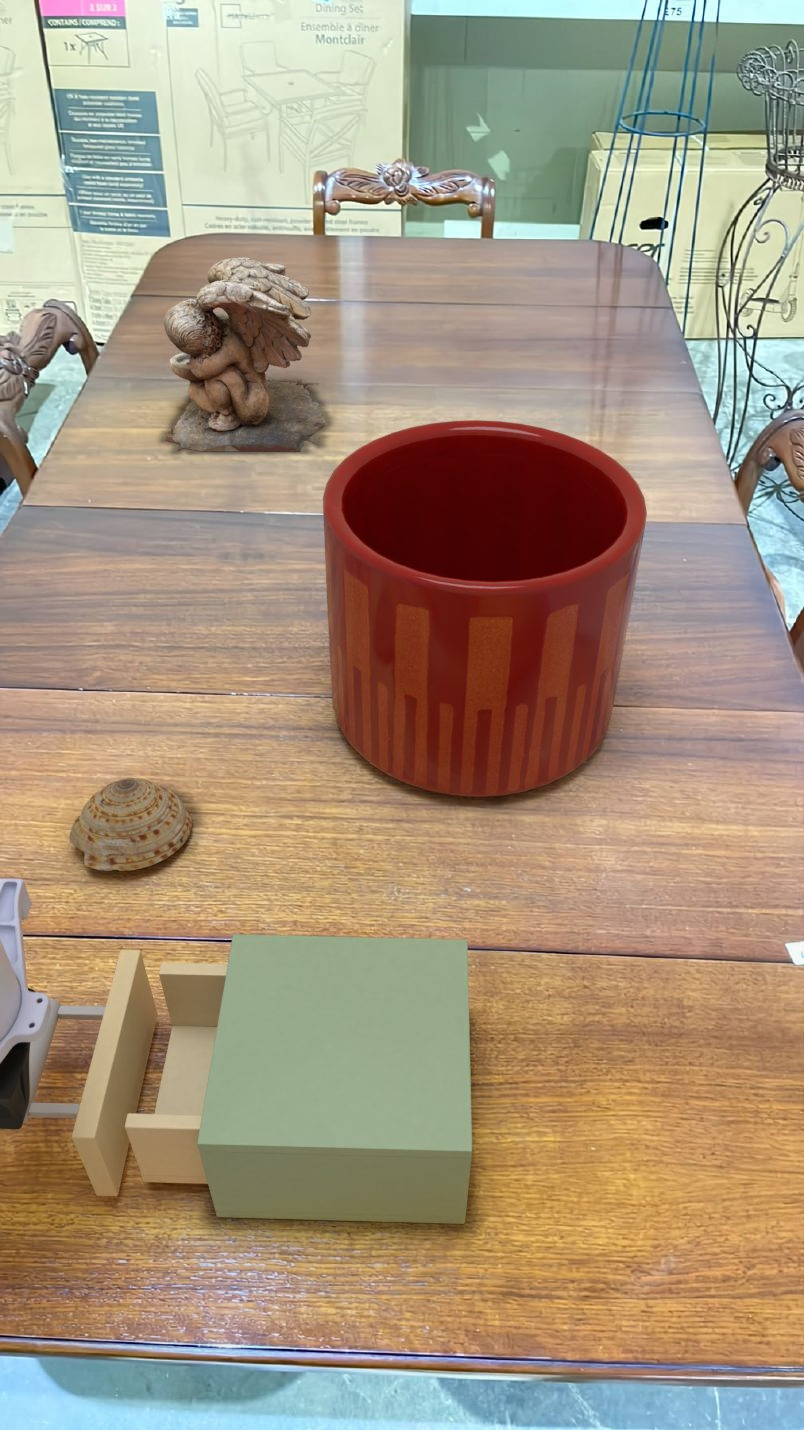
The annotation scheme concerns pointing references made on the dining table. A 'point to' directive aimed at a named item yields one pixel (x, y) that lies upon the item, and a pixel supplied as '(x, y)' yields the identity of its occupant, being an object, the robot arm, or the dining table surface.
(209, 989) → the drawer
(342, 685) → the planter
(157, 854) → the seashell
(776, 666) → the dining table surface
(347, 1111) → the cabinet
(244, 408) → the cherub figurine
